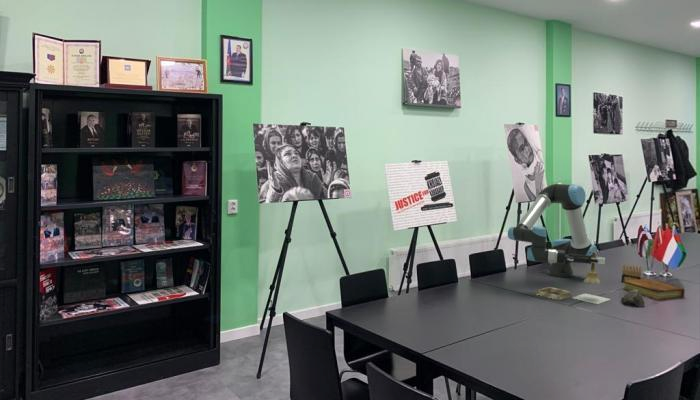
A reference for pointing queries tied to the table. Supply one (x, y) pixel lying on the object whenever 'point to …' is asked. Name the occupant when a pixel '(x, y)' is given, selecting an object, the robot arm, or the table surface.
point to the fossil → (633, 298)
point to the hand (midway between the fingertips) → (604, 260)
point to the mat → (591, 299)
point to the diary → (654, 289)
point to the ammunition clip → (631, 273)
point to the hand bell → (592, 273)
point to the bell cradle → (549, 289)
